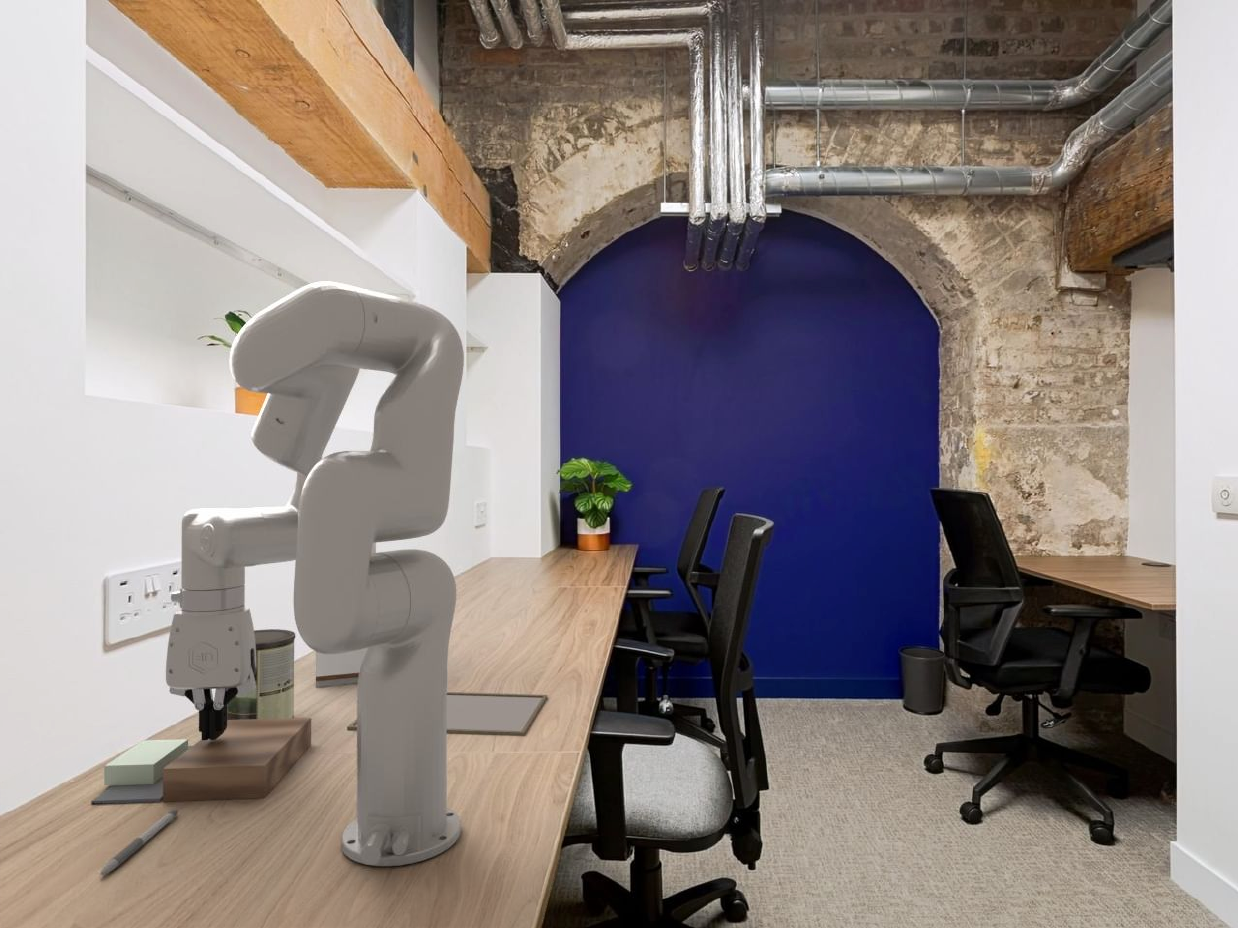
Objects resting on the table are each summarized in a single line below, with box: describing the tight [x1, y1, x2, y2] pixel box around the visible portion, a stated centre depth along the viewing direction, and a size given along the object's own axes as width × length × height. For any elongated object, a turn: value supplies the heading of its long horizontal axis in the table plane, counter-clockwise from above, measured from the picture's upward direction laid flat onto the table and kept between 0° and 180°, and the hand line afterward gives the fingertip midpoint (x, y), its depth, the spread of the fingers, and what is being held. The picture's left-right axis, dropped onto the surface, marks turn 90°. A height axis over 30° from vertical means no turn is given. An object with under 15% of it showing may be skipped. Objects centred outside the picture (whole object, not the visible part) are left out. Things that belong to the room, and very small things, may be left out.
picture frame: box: [346, 691, 548, 737], centre depth 126 cm, size 19×1×28 cm
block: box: [103, 738, 189, 786], centre depth 101 cm, size 9×6×2 cm, turn 5°
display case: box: [315, 543, 377, 688], centre depth 148 cm, size 11×11×35 cm
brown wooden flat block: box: [162, 717, 312, 803], centre depth 102 cm, size 18×12×4 cm, turn 5°
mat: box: [90, 745, 193, 805], centre depth 101 cm, size 18×8×1 cm, turn 5°
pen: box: [100, 808, 179, 876], centre depth 82 cm, size 1×14×1 cm, turn 3°
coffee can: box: [227, 628, 296, 720], centre depth 120 cm, size 10×10×14 cm
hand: (213, 736), depth 102 cm, fingers closed
